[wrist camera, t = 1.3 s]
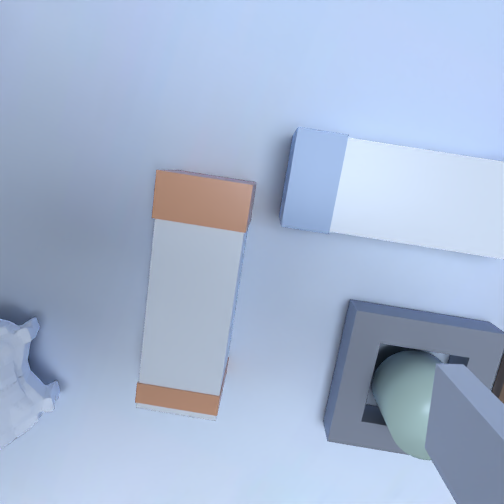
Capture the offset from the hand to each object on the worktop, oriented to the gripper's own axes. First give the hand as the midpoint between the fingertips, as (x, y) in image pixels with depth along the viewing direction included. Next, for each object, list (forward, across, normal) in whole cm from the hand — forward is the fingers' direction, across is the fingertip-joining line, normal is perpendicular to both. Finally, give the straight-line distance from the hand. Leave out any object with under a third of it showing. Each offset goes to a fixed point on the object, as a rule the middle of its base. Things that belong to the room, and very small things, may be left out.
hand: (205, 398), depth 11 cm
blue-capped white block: (+14, +10, +5) cm, 17 cm away
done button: (+12, +11, -7) cm, 18 cm away
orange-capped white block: (+14, -2, -1) cm, 14 cm away
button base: (+14, +11, -7) cm, 19 cm away
